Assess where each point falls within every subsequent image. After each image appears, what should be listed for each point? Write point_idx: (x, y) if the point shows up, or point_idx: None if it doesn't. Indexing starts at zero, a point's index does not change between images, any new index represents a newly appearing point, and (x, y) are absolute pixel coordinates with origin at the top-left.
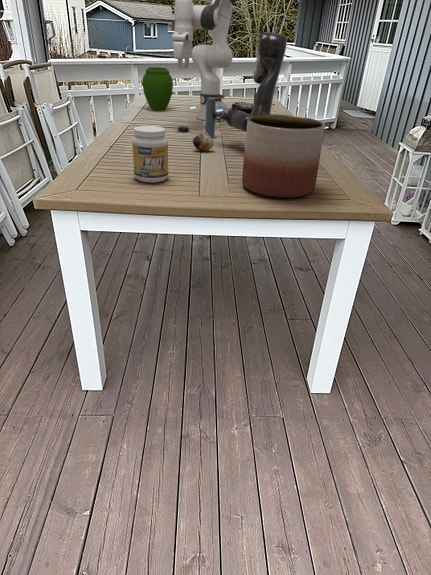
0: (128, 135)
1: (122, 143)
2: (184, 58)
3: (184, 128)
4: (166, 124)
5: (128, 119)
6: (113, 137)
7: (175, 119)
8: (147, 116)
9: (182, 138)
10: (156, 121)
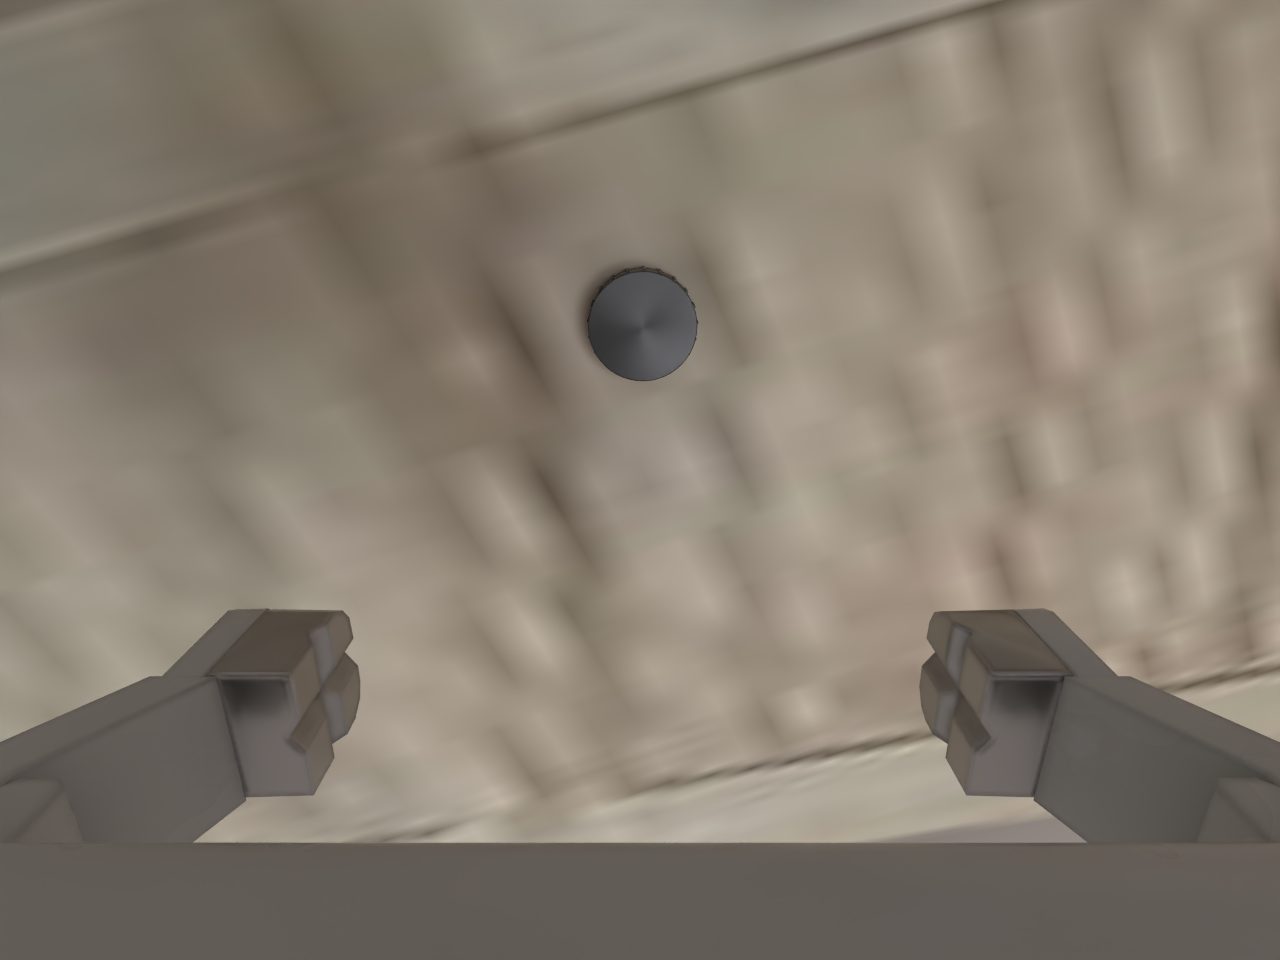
0: None
1: (1272, 623)
2: (1243, 845)
3: (690, 300)
4: (418, 560)
5: None
6: None
7: (130, 559)
8: None
9: (982, 228)
10: None
